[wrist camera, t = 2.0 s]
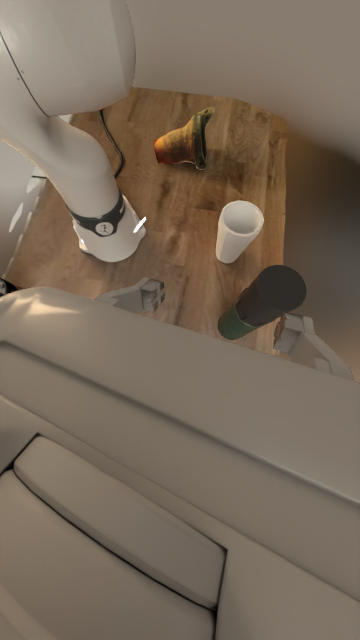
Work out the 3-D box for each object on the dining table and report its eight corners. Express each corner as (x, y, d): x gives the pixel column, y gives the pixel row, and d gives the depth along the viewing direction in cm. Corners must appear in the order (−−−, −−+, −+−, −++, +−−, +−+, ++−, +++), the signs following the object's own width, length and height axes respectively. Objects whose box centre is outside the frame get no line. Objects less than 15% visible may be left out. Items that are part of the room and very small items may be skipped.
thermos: (213, 318, 49) (232, 292, 32) (238, 310, 50) (268, 281, 33) (223, 343, 47) (249, 329, 31) (248, 334, 48) (286, 316, 32)
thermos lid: (230, 297, 34) (248, 272, 26) (263, 286, 35) (292, 259, 26) (245, 331, 33) (270, 317, 24) (279, 319, 33) (315, 301, 25)
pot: (149, 104, 55) (211, 81, 50) (164, 137, 66) (216, 121, 61) (151, 166, 57) (211, 150, 51) (165, 189, 67) (216, 177, 62)
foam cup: (249, 249, 54) (271, 213, 42) (233, 274, 52) (251, 243, 40) (220, 233, 55) (233, 194, 43) (203, 257, 53) (212, 222, 41)
